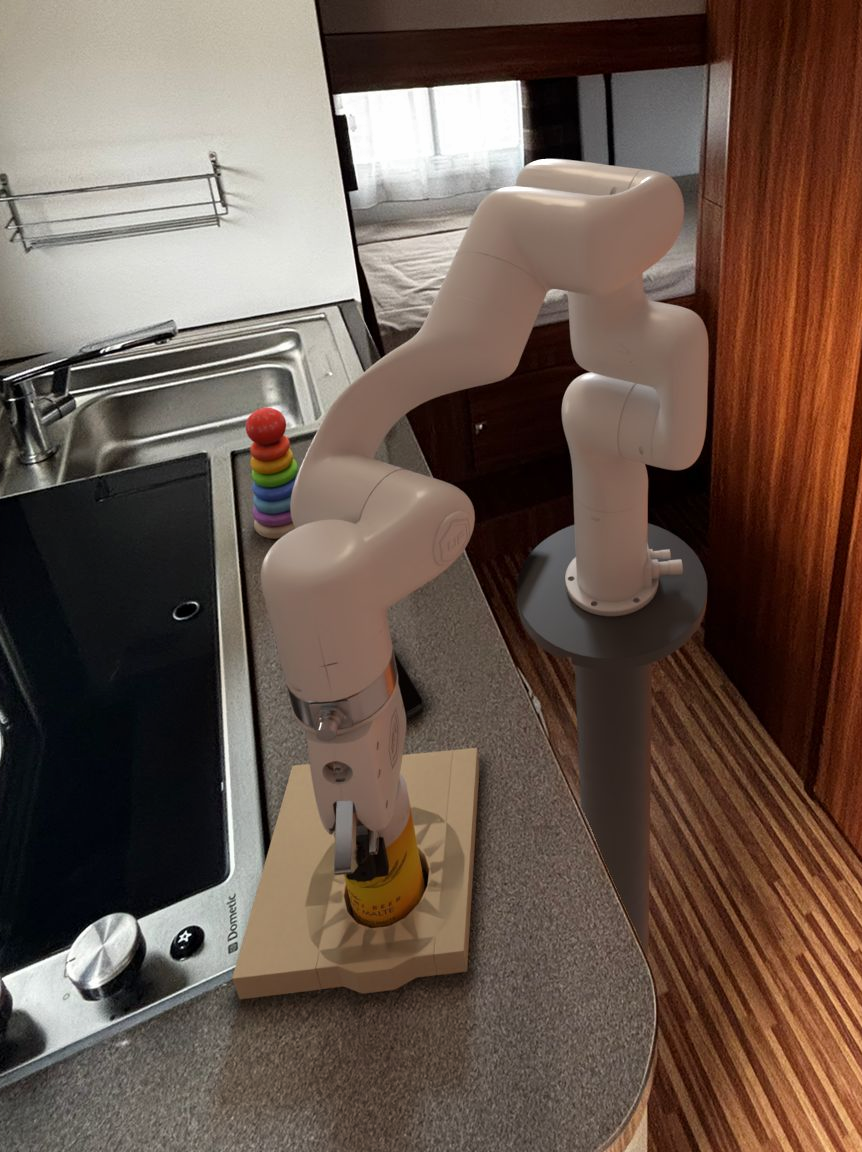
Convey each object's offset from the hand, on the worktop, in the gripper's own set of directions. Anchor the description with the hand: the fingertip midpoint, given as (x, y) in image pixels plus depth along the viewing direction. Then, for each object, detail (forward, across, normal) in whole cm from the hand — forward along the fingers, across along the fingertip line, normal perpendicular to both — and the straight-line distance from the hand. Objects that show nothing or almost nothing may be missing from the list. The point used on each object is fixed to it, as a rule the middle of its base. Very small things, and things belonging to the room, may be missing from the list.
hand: (376, 829), depth 67 cm
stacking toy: (+10, +53, +23) cm, 59 cm away
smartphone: (+10, +24, +6) cm, 27 cm away
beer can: (+10, 0, 0) cm, 10 cm away
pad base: (+10, +3, +2) cm, 11 cm away
